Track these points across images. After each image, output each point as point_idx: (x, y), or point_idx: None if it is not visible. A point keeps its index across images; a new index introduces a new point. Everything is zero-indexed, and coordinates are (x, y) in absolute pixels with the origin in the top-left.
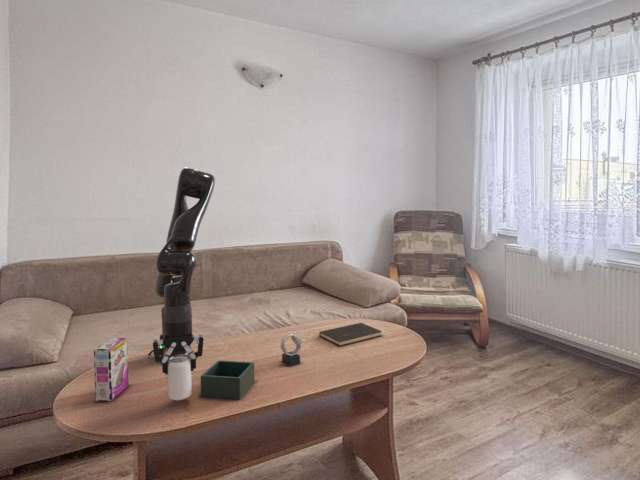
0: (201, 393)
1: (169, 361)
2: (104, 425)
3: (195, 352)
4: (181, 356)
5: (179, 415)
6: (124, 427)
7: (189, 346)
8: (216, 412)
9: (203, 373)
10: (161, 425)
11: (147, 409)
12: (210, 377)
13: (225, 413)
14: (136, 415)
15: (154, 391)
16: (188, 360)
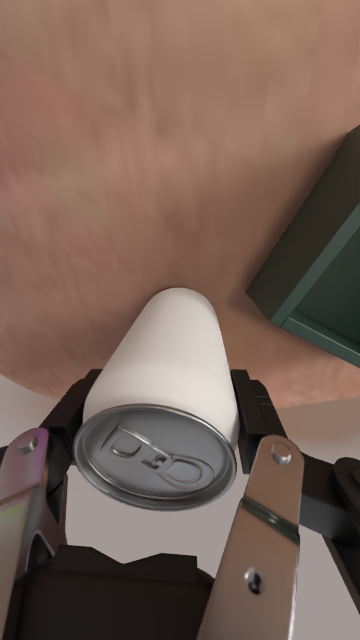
0: (249, 296)
1: (89, 465)
2: (24, 363)
3: (310, 502)
4: (168, 420)
5: None
6: (71, 385)
7: (275, 601)
8: (270, 393)
9: (289, 297)
10: None
11: (96, 321)
12: (310, 342)
13: (290, 404)
14: (78, 343)
15: (82, 186)
16: (224, 474)
